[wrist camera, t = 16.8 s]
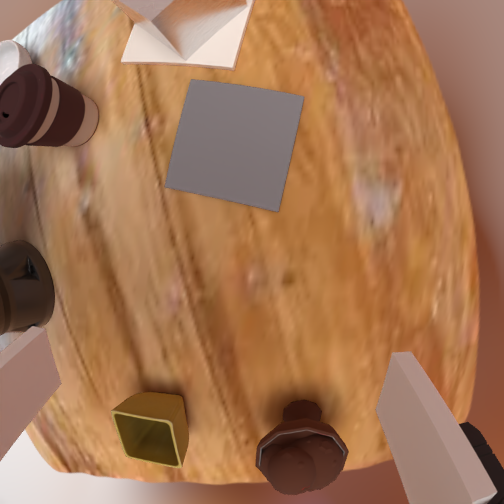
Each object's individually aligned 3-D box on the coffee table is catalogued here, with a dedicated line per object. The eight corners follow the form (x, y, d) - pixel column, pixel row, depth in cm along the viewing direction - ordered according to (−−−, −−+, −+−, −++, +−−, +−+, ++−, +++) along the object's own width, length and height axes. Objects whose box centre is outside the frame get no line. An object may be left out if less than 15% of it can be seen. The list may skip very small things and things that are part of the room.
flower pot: (137, 378, 44) (109, 410, 35) (192, 384, 42) (170, 421, 34) (148, 423, 45) (125, 457, 36) (199, 430, 44) (182, 469, 35)
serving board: (124, 64, 37) (120, 61, 36) (158, -22, 34) (156, -25, 33) (234, 70, 35) (232, 67, 34) (261, -22, 32) (261, -26, 31)
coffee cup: (93, 77, 37) (26, 43, 23) (118, 126, 38) (44, 101, 23) (48, 119, 39) (-23, 103, 25) (68, 169, 40) (-9, 164, 25)
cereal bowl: (43, 122, 40) (12, 115, 33) (-13, 150, 42) (-41, 149, 35) (50, 35, 37) (25, 22, 30) (-7, 72, 40) (-31, 65, 33)
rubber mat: (166, 187, 38) (164, 187, 38) (192, 80, 36) (191, 79, 35) (278, 212, 37) (278, 212, 37) (304, 98, 35) (304, 96, 34)
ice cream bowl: (262, 439, 43) (247, 515, 28) (266, 380, 41) (251, 457, 26) (332, 443, 41) (338, 519, 27) (345, 384, 39) (362, 461, 25)
